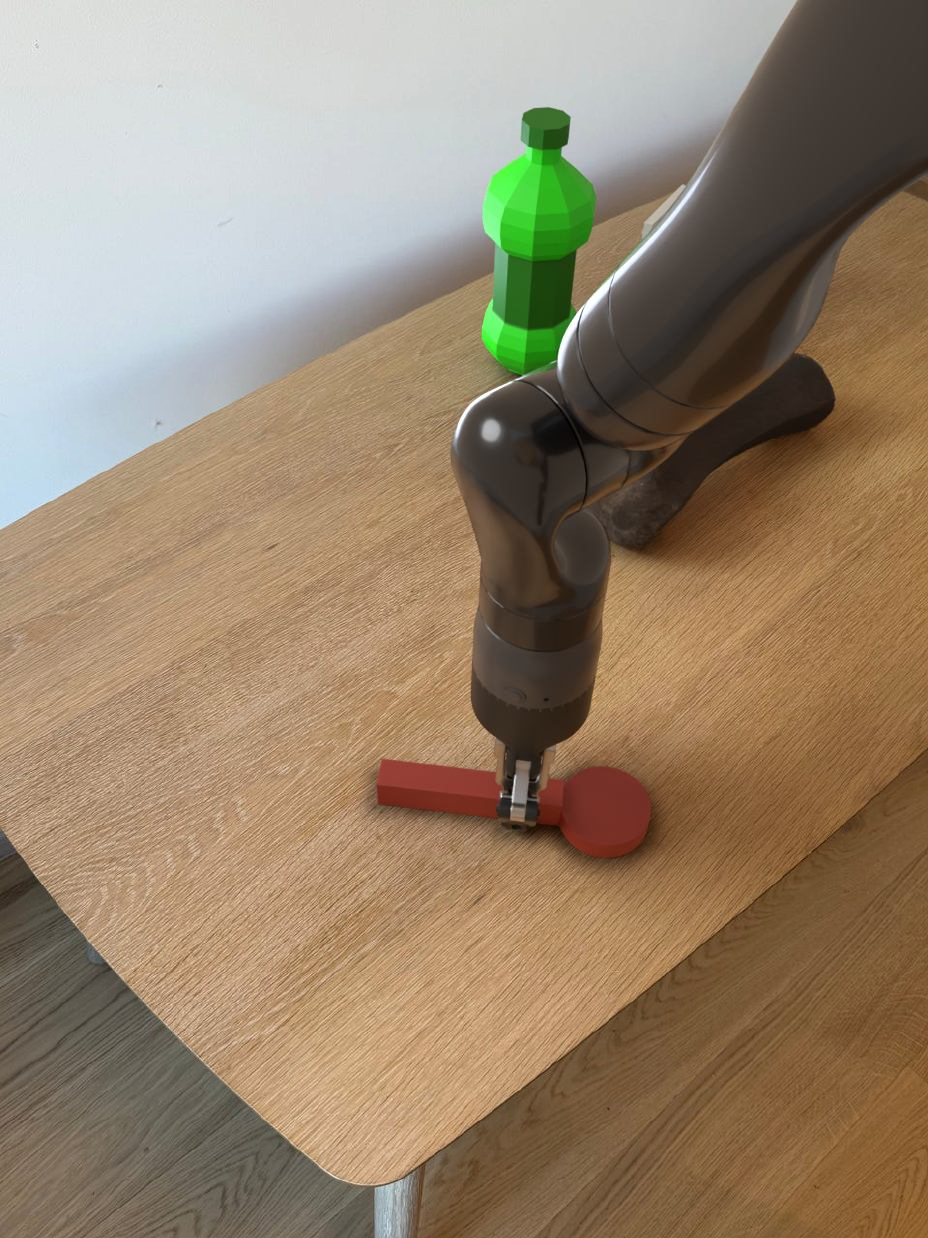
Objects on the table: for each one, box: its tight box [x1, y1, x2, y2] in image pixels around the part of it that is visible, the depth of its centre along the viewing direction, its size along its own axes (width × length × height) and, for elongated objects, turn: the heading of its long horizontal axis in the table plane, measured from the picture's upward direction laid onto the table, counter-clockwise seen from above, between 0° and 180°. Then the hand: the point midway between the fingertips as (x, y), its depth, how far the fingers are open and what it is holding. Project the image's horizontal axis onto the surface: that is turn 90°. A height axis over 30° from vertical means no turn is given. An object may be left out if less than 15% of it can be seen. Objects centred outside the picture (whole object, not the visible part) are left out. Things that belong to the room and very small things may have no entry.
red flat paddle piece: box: [375, 758, 652, 859], centre depth 77 cm, size 19×6×3 cm, turn 83°
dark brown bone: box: [587, 352, 837, 551], centre depth 100 cm, size 11×10×28 cm
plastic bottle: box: [481, 106, 597, 376], centre depth 104 cm, size 10×10×25 cm
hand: (518, 806), depth 78 cm, fingers closed on red flat paddle piece, 2 cm apart
